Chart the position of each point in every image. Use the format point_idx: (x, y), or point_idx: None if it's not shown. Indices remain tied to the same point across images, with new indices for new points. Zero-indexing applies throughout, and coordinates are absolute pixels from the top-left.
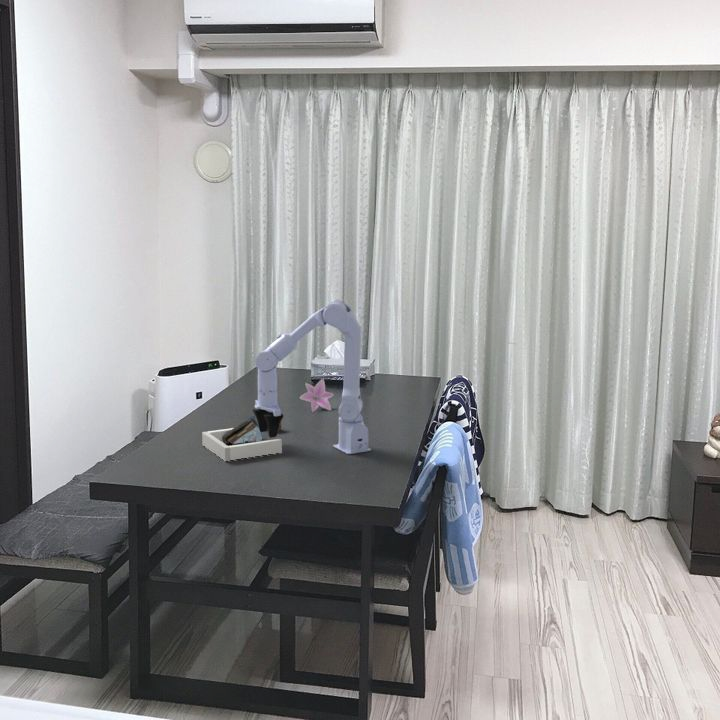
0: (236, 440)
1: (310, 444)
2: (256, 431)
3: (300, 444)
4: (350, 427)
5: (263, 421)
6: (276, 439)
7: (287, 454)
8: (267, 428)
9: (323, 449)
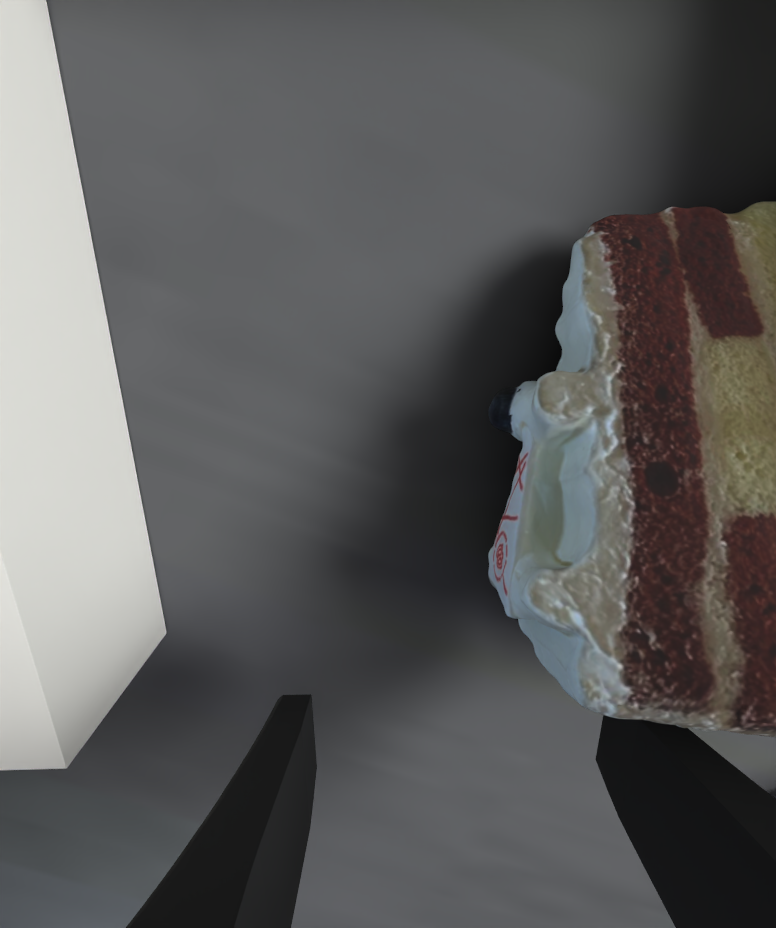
0: (602, 273)
1: None
2: (555, 629)
3: (321, 836)
4: None
5: (732, 918)
6: (36, 724)
7: None
8: (614, 805)
9: (114, 911)
